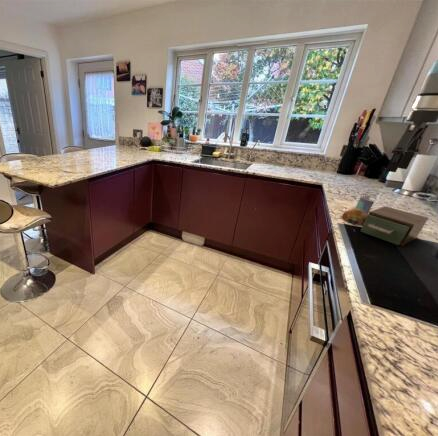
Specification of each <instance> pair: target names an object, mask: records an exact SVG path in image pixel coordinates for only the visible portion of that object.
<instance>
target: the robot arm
mask: <svg viewBox="0 0 438 436" xmlns="http://www.w3.org/2000/svg"><path fill="white" fill-rule="evenodd" d="M412 103H413V105H412V107H411V108H412V109H413V110H411V111H409V114H408V116H407V118H406V122H407V123H408V122H409V123H411V124H408V125H407V127H406V129H405V131H404V132H403V134H402V136H401V137H400V139H399V140H398V142H397V144H396V145H395V147H394V148H393V149H392V150H391V154H393V155H392V156H391V157H390V160H389V163H388V165H387V166H386V169H385V172H391V173H397V171H398V169H402V170H408V168H409V166H410V164H411V162H412V160H413V158H414V156H415V154H416V153H419V152H420V147H421V145H422V144H421V143H422V141H423V139H424V136H425V133H426V131H427V129H428V128H429V125H428V124H427V123H434V124H435V123H436V122H437V121H438V59H437V60H435V61H434V63H433V64H432V65H431V67H430V69H429V71H428V73H427V74H426V77H425V80H424V81H423V84H422V86H421V88H420V91H419V92H418V95H417V97H416V99H413V100H412Z"/></svg>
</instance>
